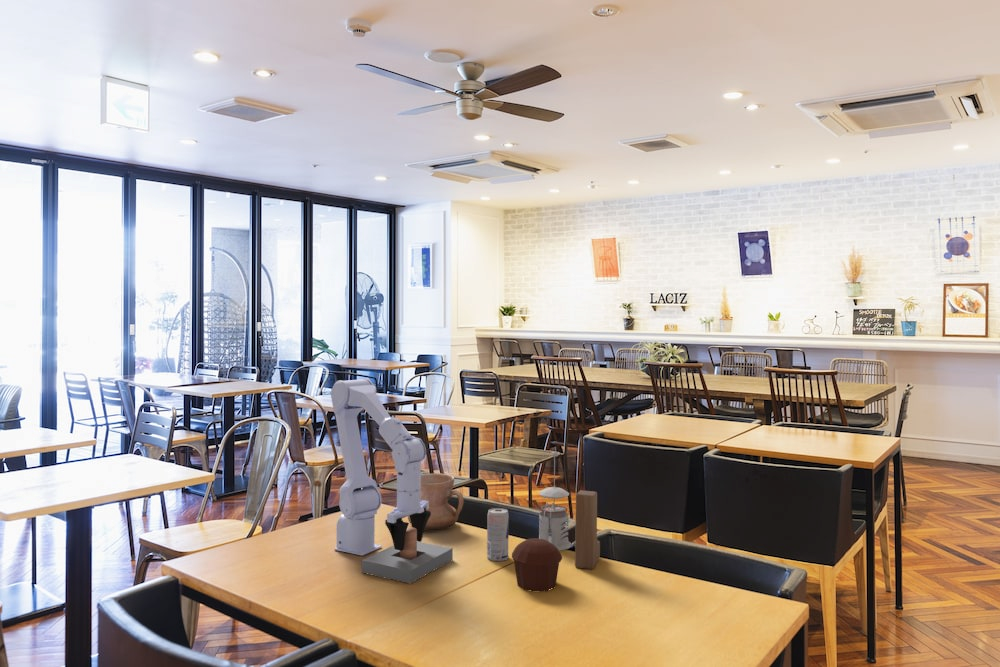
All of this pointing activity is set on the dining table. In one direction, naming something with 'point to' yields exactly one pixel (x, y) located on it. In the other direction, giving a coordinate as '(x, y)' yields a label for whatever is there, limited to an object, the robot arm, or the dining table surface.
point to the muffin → (536, 564)
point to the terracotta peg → (410, 544)
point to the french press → (554, 517)
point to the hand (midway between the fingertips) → (408, 545)
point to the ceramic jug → (439, 500)
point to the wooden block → (586, 530)
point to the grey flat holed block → (407, 562)
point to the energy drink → (497, 534)
